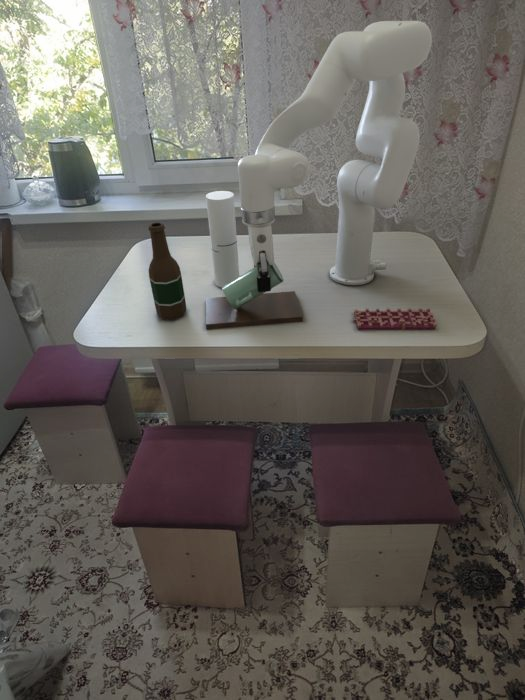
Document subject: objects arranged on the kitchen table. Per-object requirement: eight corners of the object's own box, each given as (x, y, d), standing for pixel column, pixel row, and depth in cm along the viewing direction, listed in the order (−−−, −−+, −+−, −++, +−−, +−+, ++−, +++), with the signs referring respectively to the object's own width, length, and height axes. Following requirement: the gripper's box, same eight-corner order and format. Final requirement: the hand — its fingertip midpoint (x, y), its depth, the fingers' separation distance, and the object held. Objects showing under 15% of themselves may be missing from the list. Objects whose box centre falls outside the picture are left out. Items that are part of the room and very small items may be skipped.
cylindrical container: (236, 288, 128) (229, 200, 113) (212, 287, 129) (202, 199, 114) (242, 277, 134) (236, 191, 119) (219, 275, 135) (210, 190, 120)
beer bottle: (173, 324, 114) (157, 233, 100) (150, 316, 118) (131, 227, 103) (193, 310, 119) (180, 221, 105) (170, 302, 123) (155, 216, 109)
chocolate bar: (351, 313, 115) (352, 307, 114) (427, 313, 114) (429, 306, 113) (355, 329, 109) (355, 322, 108) (435, 329, 108) (436, 322, 107)
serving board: (294, 295, 124) (294, 291, 123) (302, 321, 113) (302, 316, 112) (206, 302, 122) (206, 298, 121) (206, 329, 112) (205, 324, 111)
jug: (236, 300, 120) (281, 273, 116) (238, 319, 112) (286, 290, 109) (222, 282, 116) (268, 253, 113) (223, 299, 109) (272, 270, 105)
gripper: (280, 227, 96) (282, 299, 107) (269, 200, 110) (273, 266, 121) (244, 230, 96) (250, 303, 107) (239, 202, 110) (245, 269, 120)
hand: (262, 283), depth 114 cm, fingers closed on jug, 6 cm apart
